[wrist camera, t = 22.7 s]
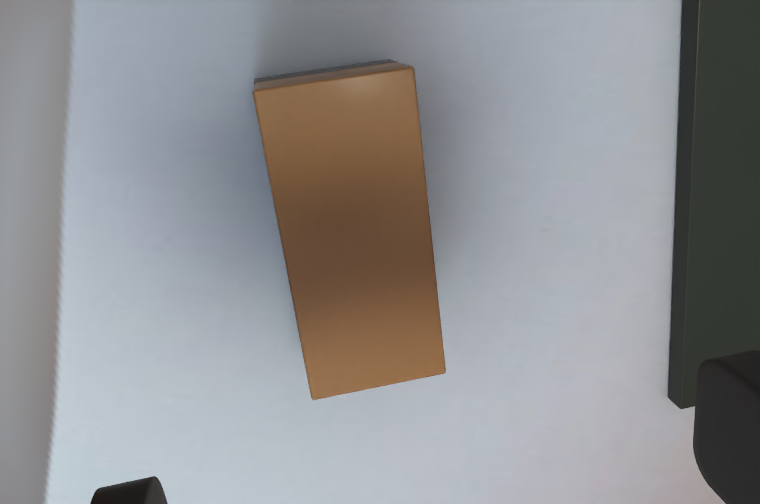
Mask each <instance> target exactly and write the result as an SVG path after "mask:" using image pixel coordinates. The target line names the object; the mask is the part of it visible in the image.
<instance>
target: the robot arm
mask: <svg viewBox="0 0 760 504" xmlns="http://www.w3.org/2000/svg"><path fill="white" fill-rule="evenodd" d="M693 449H694V455H695V459H696V462H697V465H698V467H699V470H700V472H701V474H702V476H703V477H704V479H705V481H706V482H707V483H708V485H709V486H710V487H711V488H712V489H713V490H714V491H715V493H716V494H717V495H718V496H719V497H720V498H721V499H722V500H723V501H724V502H725V503H726V504H760V351H758V350H749V351H745V352H740V353H735V354H731V355H726V356H721V357H717V358H712V359H707V360H705V361H703V362H702V363H701V365H700V366H699V369H698V374H697V388H696V404H695V420H694V436H693ZM91 504H167V501H166V497H165V494H164V491H163V488H162V485H161V483H160V481H159V480H158V478H157V477H155V476H153V477H149V478H144V479H139V480H135V481H130V482H125V483H121V484H116V485H111V486H107V487H102V488H98V489H97V490H96V492H95V493H94V495H93V498H92V501H91Z"/></svg>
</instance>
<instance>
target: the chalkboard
mask: <svg viewBox="0 0 760 504" xmlns="http://www.w3.org/2000/svg"><path fill="white" fill-rule="evenodd" d="M749 350H758V351H760V0H683V18H682V45H681V73H680V100H679V127H678V155H677V182H676V209H675V237H674V264H673V291H672V319H671V346H670V373H669V399H670V400H671V401H672V402H673V403H674V404H675V405H677V406H678V407H679V408H680V409H684V408H689V407H693V406H695V404H696V388H697V374H698V369H699V366H700V365H701V363H702V362H703V361H705V360H707V359H712V358H717V357H721V356H726V355H731V354H735V353H740V352H745V351H749Z"/></svg>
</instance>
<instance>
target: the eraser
mask: <svg viewBox="0 0 760 504" xmlns="http://www.w3.org/2000/svg"><path fill="white" fill-rule="evenodd" d="M253 97H254V103H255V108H256V113H257V118H258V123H259V129H260V134H261V139H262V144H263V149H264V155H265V160H266V165H267V170H268V175H269V181H270V186H271V191H272V196H273V201H274V207H275V212H276V217H277V222H278V227H279V233H280V238H281V243H282V248H283V253H284V259H285V264H286V269H287V274H288V279H289V285H290V290H291V295H292V300H293V305H294V311H295V316H296V321H297V326H298V331H299V337H300V342H301V347H302V352H303V357H304V363H305V368H306V373H307V378H308V383H309V389H310V394H311V398H312V399H313V400H316V399H321V398H326V397H331V396H336V395H340V394H345V393H350V392H355V391H360V390H365V389H370V388H375V387H380V386H385V385H390V384H395V383H399V382H404V381H409V380H414V379H419V378H424V377H429V376H434V375H439V374H444V373H445V371H446V368H445V359H444V349H443V340H442V330H441V320H440V311H439V301H438V292H437V282H436V273H435V263H434V254H433V244H432V235H431V225H430V216H429V206H428V197H427V187H426V178H425V168H424V159H423V149H422V140H421V130H420V121H419V111H418V102H417V92H416V82H415V73H414V68H413V67H412V66H409V65H405V64H402V63H399V62H397V61H393V60H390V59H388V60H381V61H375V62H368V63H361V64H354V65H347V66H340V67H333V68H327V69H320V70H313V71H306V72H299V73H292V74H285V75H279V76H272V77H265V78H258V79H254V87H253Z"/></svg>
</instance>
